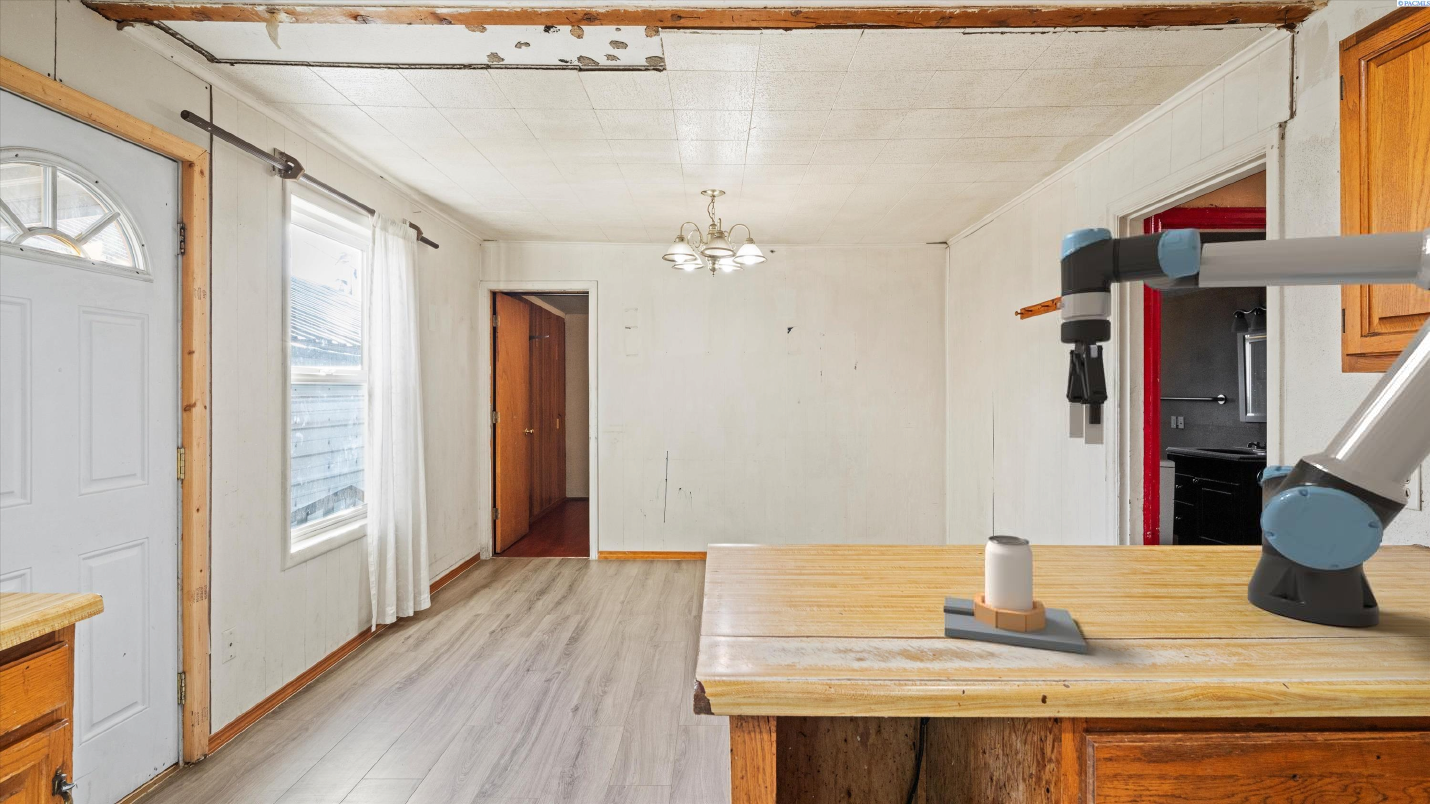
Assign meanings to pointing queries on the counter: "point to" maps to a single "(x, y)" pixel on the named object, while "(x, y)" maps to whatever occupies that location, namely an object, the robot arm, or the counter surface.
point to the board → (1012, 625)
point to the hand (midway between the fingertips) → (1084, 440)
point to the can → (1009, 573)
